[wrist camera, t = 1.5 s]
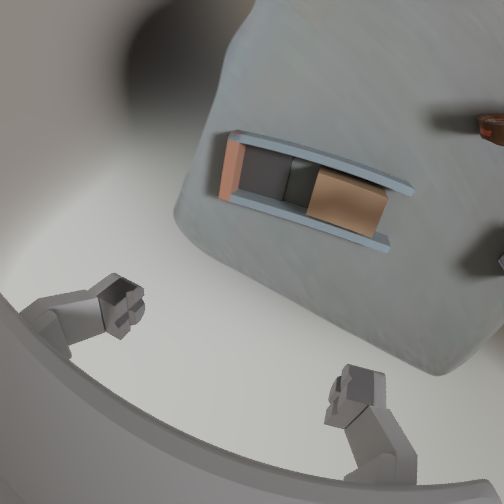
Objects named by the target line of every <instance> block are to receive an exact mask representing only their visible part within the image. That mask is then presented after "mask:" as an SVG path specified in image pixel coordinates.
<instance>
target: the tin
mask: <svg viewBox="0 0 504 504" xmlns="http://www.w3.org/2000/svg"><path fill="white" fill-rule="evenodd" d="M477 119H478V122H479V129H480V135H481V137H482V138H483V139H486V140H488V141H491V142H493V143H495V144H497V145H501V146H504V114H491V115H481V116H478V117H477Z"/></svg>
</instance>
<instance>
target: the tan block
mask: <svg viewBox="0 0 504 504" xmlns="http://www.w3.org/2000/svg"><path fill="white" fill-rule="evenodd" d="M387 200H388V197H387V195H386V193H385V191H384V189H383V188H382V187H380V186H377V185H375V184H372V183H369V182H367V181H364V180H361V179H359V178H356V177H353V176H350V175H348V174H345V173H342V172H339V171H336V170H333V169H330V168H327V167H324V166H321V168H320V170H319V173H318V176H317V179H316V183H315V186H314V189H313V193H312V196H311V200H310V203H309V206H308V209H307V213H306V215H309V216H312V217H315V218H318V219H321V220H323V221H326V222H329V223H332V224H335V225H338V226H341V227H343V228H346V229H349V230H352V231H354V232H357V233H360V234H363V235H365V236H368V237H371V238H372V237H373V234H374V232H375V230H376V227H377V225H378V223H379V220H380V218H381V215H382V213H383V210H384V208H385V205H386V203H387Z"/></svg>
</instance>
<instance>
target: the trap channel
mask: <svg viewBox="0 0 504 504" xmlns="http://www.w3.org/2000/svg"><path fill="white" fill-rule="evenodd" d="M293 156H295V157H299V158H303V159H306V160H309V161H313V162H316V163H319V164H322V165H326V166H329V167H332V168H335V169H338V170H341V171H344V172H347V173H350V174H353V175H356V176H358V177H361V178H364V179H367V180H369V181H372V182H375V183H378V184H380V185H383V186H385V187H388V188H390V189H393V190H395V191H398V192H400V193H403V194H405V195H408V196H410V197H412V196H413V194H414V191H415V189H414V188H413V186H412V185H411V184H410V183H408V182H406V181H404V180H401V179H399V178H396V177H394V176H391V175H389V174H386V173H384V172H381V171H379V170H376V169H373V168H371V167H368V166H365V165H362V164H360V163H357V162H354V161H351V160H348V159H345V158H342V157H339V156H336V155H333V154H330V153H326V152H323V151H320V150H316V149H313V148H310V147H306V146H303V145H299V144H295V143H292V142H288V141H284V140H280V139H276V138H272V137H268V136H264V135H259V134H255V133H250V132H246V131H241V130H235V131H230V132H229V135H228V140H227V146H226V152H225V159H224V165H223V171H222V178H221V184H220V191H219V198H218V199H222V200H225V201H229V202H232V203H235V204H239V205H242V206H246V207H249V208H252V209H255V210H259V211H262V212H265V213H268V214H272V215H275V216H278V217H281V218H284V219H288V220H291V221H294V222H297V223H300V224H303V225H306V226H309V227H312V228H315V229H318V230H321V231H324V232H327V233H330V234H333V235H336V236H339V237H342V238H345V239H347V240H350V241H353V242H356V243H359V244H362V245H364V246H367V247H370V248H373V249H375V250H378V251H381V252H384V253H386V254H388V252H389V250H390V248H391V245H390V242H389V238H388V236H385V235H383V234H380V233H377V232H374V234H373V237H372V238H371V237H368V236H365V235H363V234H360V233H357V232H354V231H352V230H349V229H346V228H343V227H341V226H338V225H335V224H332V223H329V222H326V221H323V220H321V219H318V218H315V217H312V216H309V215H306V213H307V209H308V208H305V207H302V206H299V205H295V204H292V203H289V202H286V201H283V197H284V193H285V189H286V185H287V181H288V177H289V173H290V169H291V165H292V161H293Z"/></svg>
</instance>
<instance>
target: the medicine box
mask: <svg viewBox="0 0 504 504" xmlns="http://www.w3.org/2000/svg"><path fill="white" fill-rule="evenodd" d="M498 262H499V264H500V265H501V267H502V268H503V270H504V254H503V255H502V257H501V258H500V259H499V260H498Z"/></svg>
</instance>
